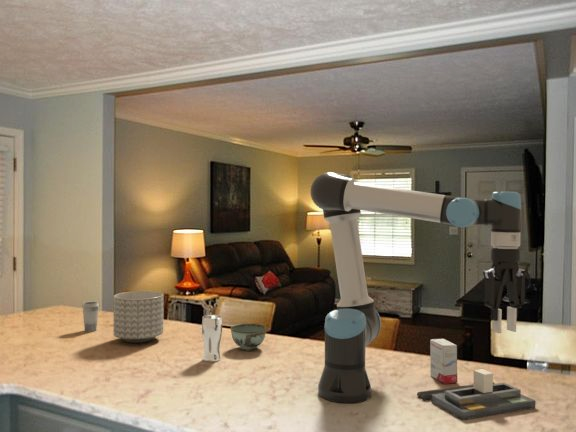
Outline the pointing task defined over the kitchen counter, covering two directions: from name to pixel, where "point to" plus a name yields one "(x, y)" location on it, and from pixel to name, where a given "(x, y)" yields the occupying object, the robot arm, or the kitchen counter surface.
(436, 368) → the ink box
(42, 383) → the kitchen counter surface
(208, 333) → the beer glass
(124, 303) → the planter
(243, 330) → the bowl
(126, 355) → the kitchen counter surface
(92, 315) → the cup
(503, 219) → the robot arm
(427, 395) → the dark grey flat bar
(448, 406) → the grey tray
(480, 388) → the toggle
